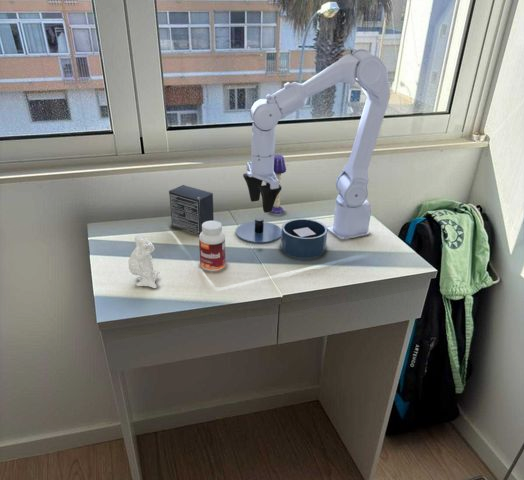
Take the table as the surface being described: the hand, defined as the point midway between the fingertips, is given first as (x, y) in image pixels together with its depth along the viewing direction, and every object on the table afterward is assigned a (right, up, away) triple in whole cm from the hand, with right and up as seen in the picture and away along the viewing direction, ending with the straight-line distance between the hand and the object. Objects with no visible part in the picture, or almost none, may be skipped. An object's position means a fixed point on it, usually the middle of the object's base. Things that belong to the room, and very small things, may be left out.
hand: (261, 206), depth 136 cm
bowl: (+11, -11, 0) cm, 16 cm away
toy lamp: (+4, +3, +17) cm, 18 cm away
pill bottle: (-12, -17, -9) cm, 23 cm away
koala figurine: (-27, -22, -15) cm, 38 cm away
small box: (-19, -4, +8) cm, 21 cm away
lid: (-1, -6, +5) cm, 8 cm away
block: (+11, -11, 0) cm, 16 cm away
